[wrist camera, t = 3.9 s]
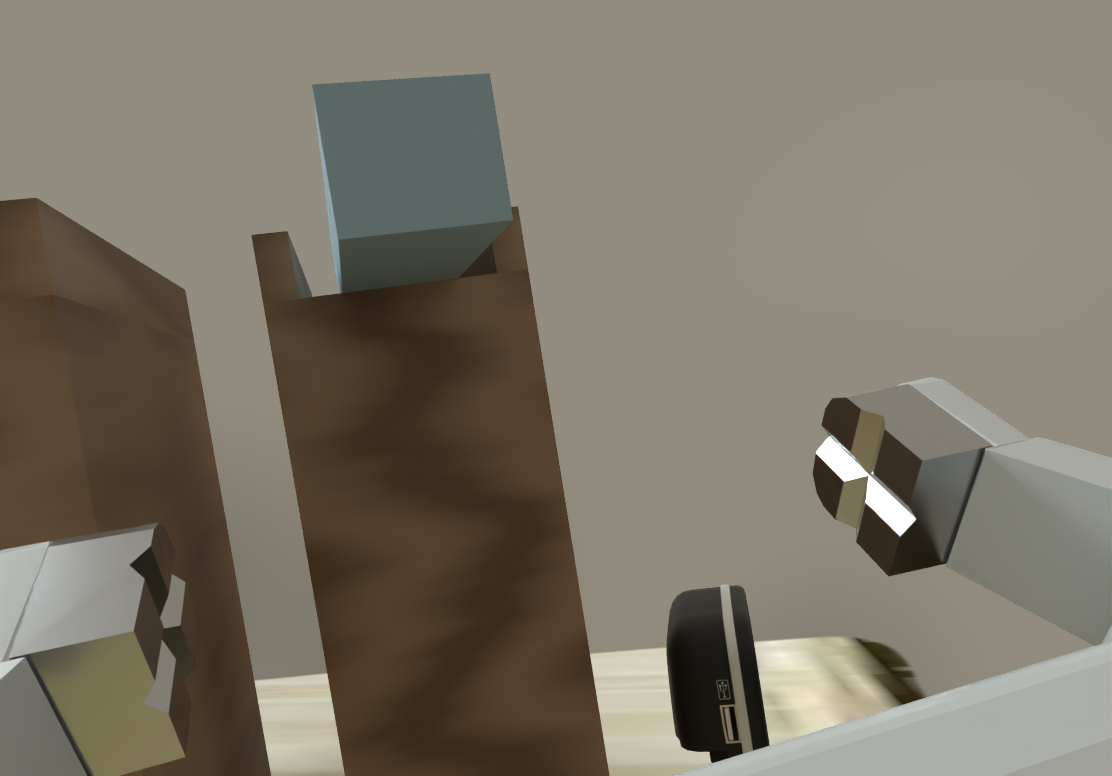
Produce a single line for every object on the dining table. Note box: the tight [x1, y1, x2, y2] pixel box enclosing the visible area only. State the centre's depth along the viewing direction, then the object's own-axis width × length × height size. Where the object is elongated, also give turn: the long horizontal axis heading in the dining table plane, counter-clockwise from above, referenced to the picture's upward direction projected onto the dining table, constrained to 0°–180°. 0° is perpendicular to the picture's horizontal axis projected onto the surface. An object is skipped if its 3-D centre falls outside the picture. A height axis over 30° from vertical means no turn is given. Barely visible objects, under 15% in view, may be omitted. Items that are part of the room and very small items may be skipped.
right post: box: [252, 207, 609, 776], centre depth 32 cm, size 8×15×28 cm, turn 15°
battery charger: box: [667, 584, 770, 763], centre depth 35 cm, size 7×4×11 cm, turn 170°
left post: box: [0, 198, 271, 776], centre depth 23 cm, size 8×15×28 cm, turn 15°
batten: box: [312, 74, 513, 294], centre depth 26 cm, size 4×22×3 cm, turn 15°
